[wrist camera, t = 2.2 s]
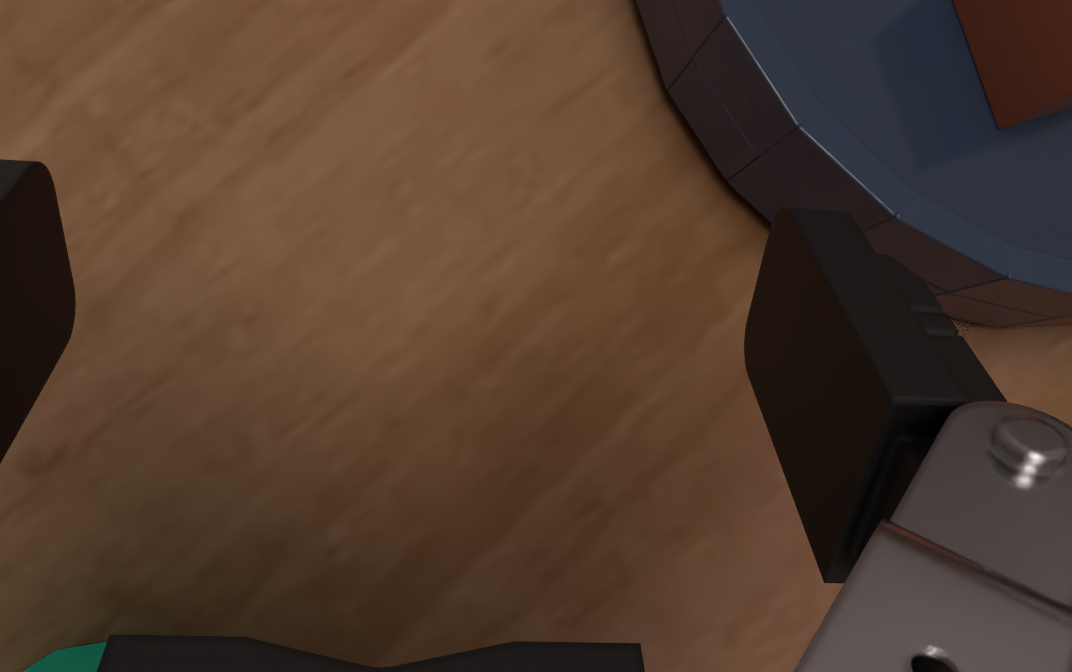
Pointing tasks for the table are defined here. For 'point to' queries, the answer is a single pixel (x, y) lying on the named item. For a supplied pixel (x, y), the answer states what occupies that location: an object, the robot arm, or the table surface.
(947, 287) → the bowl
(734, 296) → the table surface
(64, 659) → the candle
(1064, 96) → the block
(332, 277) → the table surface
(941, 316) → the robot arm
